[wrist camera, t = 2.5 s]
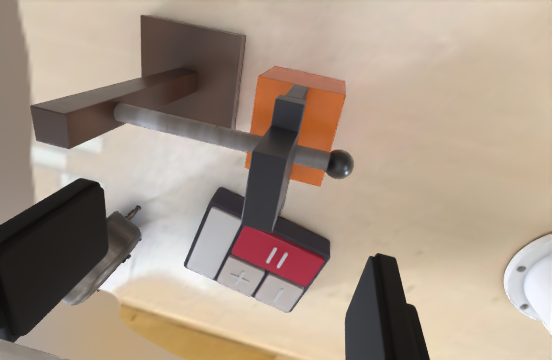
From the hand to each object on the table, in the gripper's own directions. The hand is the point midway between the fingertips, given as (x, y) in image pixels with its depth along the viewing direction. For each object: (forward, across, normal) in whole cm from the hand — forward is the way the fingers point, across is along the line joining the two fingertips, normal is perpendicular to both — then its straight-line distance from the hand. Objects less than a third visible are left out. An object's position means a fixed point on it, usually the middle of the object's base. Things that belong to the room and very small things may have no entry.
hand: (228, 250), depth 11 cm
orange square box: (+20, 0, 0) cm, 20 cm away
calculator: (+24, +2, +19) cm, 31 cm away
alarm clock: (+24, +20, +22) cm, 38 cm away
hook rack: (+24, +6, 0) cm, 25 cm away
